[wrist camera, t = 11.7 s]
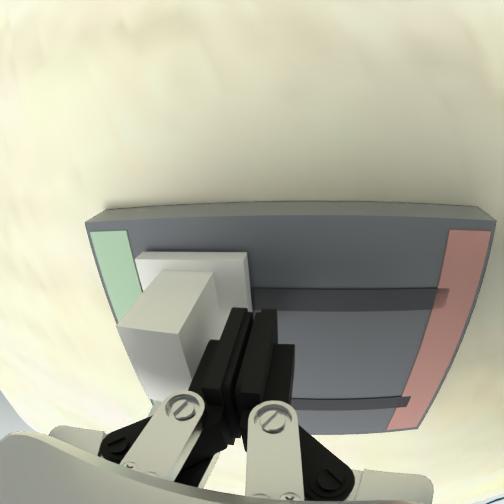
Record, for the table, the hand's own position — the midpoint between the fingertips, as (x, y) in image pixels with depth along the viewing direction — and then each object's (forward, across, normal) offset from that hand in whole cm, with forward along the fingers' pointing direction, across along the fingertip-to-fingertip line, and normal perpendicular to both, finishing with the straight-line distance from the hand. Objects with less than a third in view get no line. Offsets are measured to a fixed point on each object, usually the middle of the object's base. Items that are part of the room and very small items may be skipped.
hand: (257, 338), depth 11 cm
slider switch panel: (+5, -1, +4) cm, 6 cm away
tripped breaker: (+3, +3, 0) cm, 4 cm away
